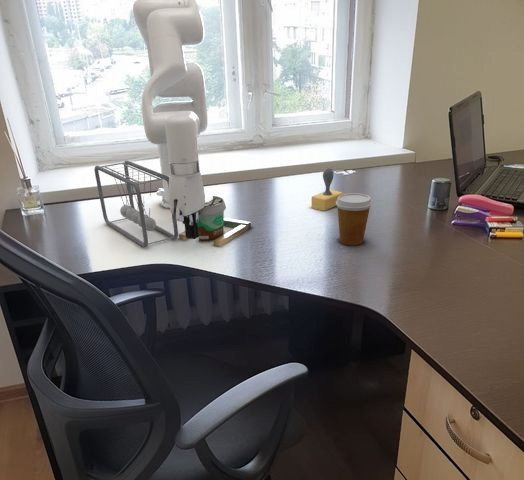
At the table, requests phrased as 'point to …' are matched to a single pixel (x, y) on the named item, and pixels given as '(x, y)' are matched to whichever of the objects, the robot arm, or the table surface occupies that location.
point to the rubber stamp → (326, 193)
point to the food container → (211, 220)
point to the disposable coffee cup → (353, 217)
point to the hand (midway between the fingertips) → (192, 237)
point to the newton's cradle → (130, 211)
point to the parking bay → (238, 229)
